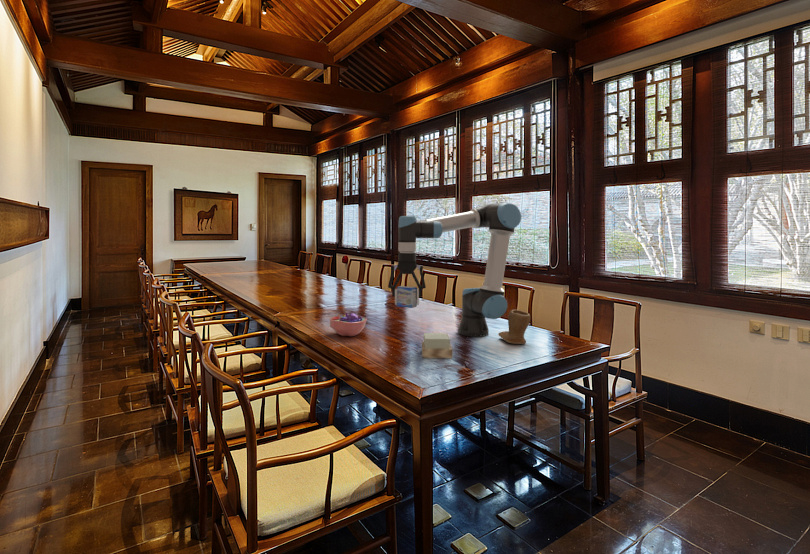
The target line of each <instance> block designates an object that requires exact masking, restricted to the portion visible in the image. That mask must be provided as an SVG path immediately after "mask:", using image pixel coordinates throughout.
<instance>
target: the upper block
mask: <svg viewBox="0 0 810 554" xmlns="http://www.w3.org/2000/svg"><path fill="white" fill-rule="evenodd" d="M423 342H424V346H425V349H450V344H451V339H450V336H449V333H448V332H447V333H445V332H444V333H442V332H441V333H440V332H439V333H438V332H437V333H436V332H434V333H433V332H432V333H431V332H428V333H427V332H426V333H425V332H424V333H423Z"/></svg>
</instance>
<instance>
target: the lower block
mask: <svg viewBox="0 0 810 554" xmlns="http://www.w3.org/2000/svg"><path fill="white" fill-rule="evenodd" d="M453 351H454V350H453V348H452V344H451V343H450V349H425V346H424V341H422V342H421V356H422V358H423V359H425V358H426V359H427V358H428V359H453Z"/></svg>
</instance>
